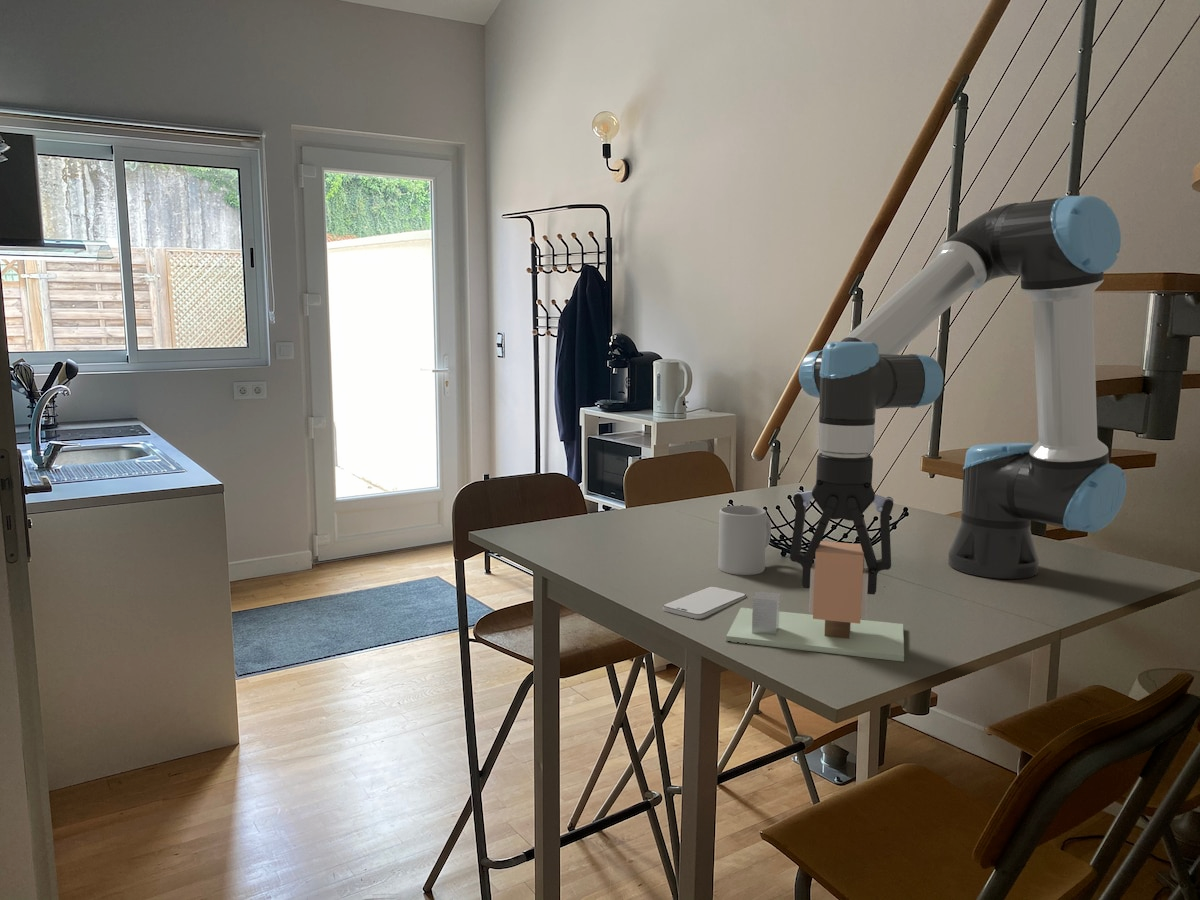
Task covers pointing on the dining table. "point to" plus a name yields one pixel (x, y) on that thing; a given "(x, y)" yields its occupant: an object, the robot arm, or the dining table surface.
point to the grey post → (765, 613)
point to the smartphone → (703, 602)
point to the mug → (743, 539)
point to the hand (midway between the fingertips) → (837, 612)
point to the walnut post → (837, 629)
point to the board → (810, 632)
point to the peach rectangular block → (838, 582)
